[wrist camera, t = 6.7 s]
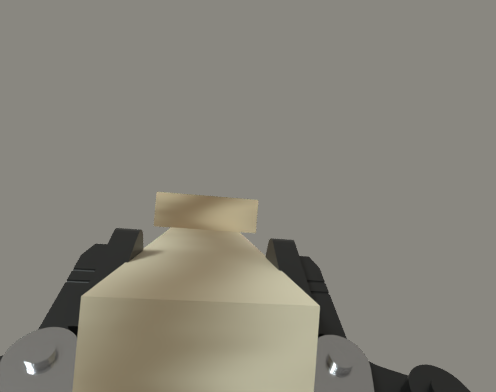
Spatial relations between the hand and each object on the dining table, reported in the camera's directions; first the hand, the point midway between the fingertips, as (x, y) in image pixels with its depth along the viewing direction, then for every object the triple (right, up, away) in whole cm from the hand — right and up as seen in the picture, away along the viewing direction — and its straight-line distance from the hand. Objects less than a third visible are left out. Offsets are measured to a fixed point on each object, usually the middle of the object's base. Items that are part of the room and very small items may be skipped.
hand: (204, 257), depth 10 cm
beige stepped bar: (-1, -3, +6) cm, 7 cm away
